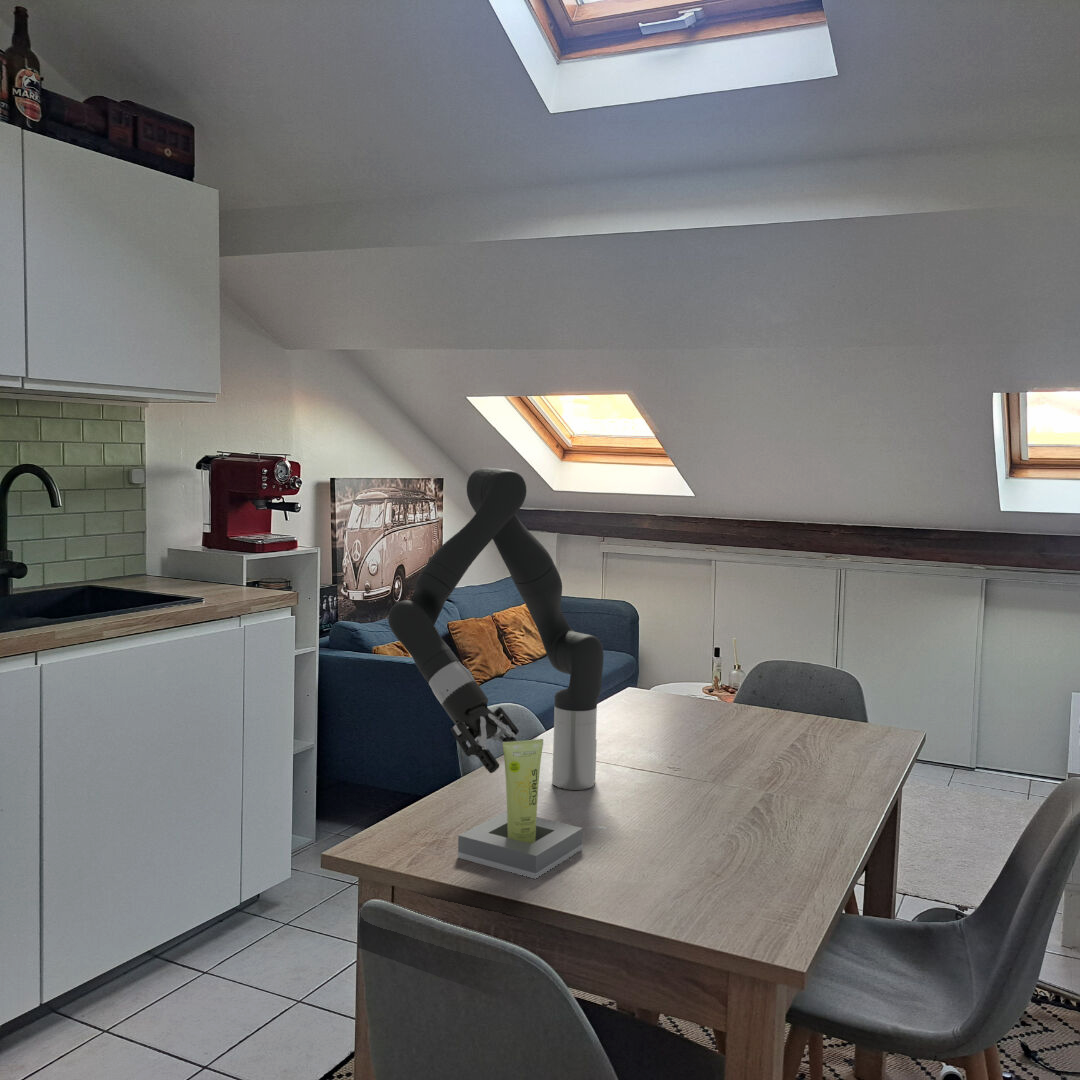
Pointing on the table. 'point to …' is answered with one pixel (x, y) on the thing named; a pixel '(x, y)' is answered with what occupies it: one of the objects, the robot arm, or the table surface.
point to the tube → (522, 787)
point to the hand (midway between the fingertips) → (508, 764)
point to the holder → (520, 846)
